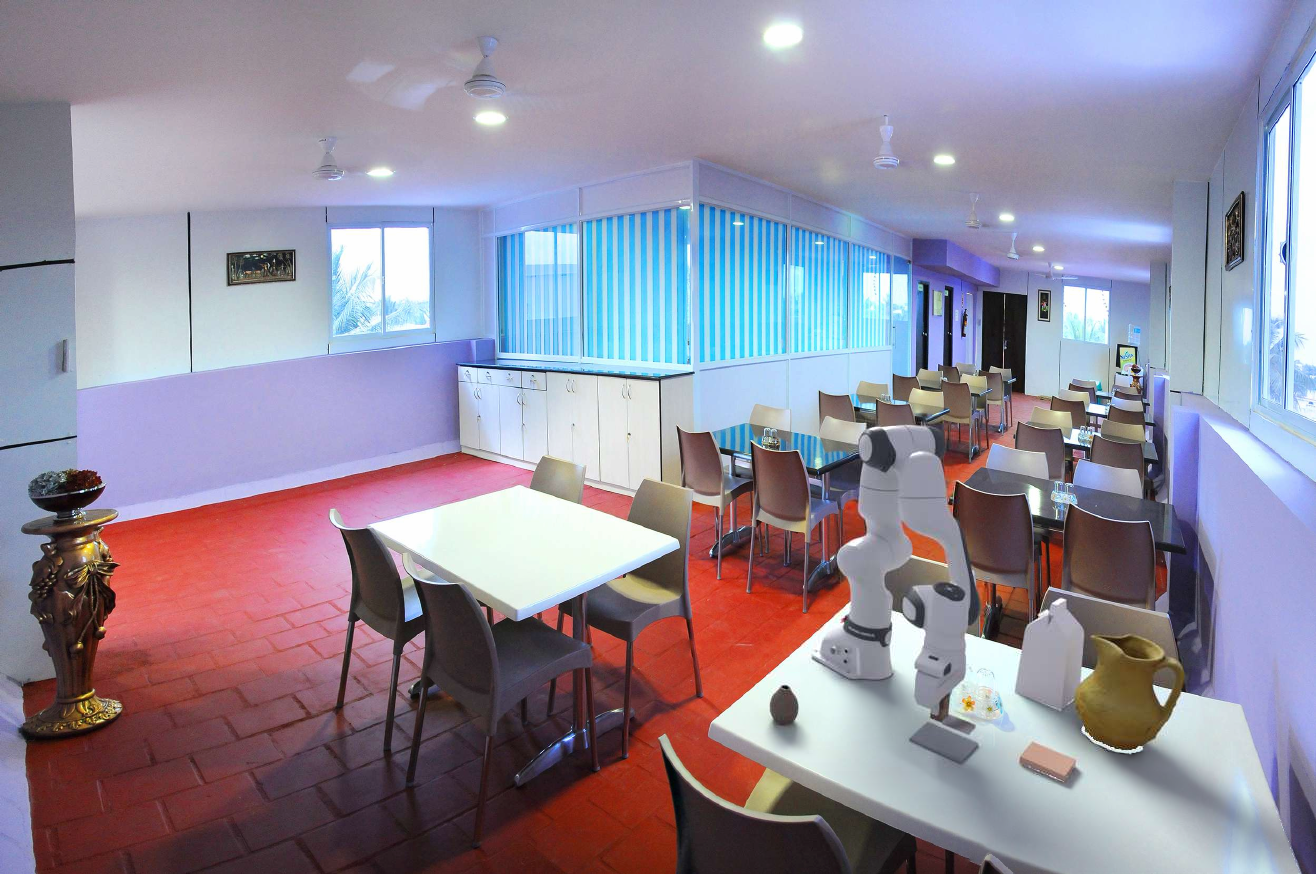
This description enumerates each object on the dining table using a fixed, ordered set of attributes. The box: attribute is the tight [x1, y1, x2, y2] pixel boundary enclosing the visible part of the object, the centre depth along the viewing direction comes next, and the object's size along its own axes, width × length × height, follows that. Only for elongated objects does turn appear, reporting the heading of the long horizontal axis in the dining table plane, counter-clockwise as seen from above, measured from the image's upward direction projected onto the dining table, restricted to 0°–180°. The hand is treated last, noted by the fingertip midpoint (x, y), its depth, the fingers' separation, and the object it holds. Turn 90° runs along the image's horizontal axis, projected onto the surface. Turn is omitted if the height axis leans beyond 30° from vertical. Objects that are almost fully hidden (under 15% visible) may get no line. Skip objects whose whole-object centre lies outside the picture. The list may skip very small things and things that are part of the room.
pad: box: [908, 721, 979, 765], centre depth 160 cm, size 12×10×1 cm
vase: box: [769, 684, 800, 726], centre depth 167 cm, size 7×7×9 cm
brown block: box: [929, 694, 977, 736], centre depth 158 cm, size 9×4×6 cm, turn 45°
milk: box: [1014, 597, 1085, 711], centre depth 181 cm, size 12×12×26 cm
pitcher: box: [1073, 633, 1185, 750], centre depth 161 cm, size 17×19×25 cm
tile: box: [1018, 741, 1077, 782], centre depth 153 cm, size 2×8×9 cm
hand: (939, 709), depth 160 cm, fingers closed on brown block, 3 cm apart
